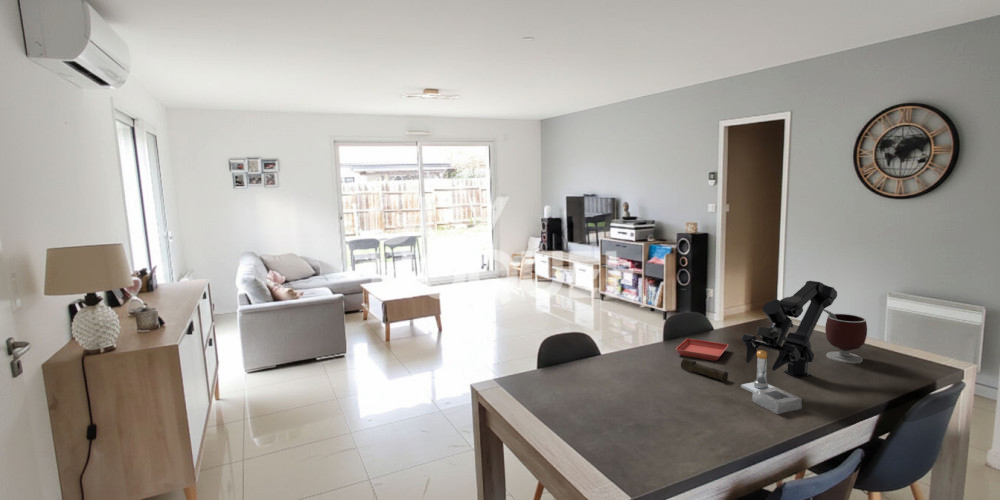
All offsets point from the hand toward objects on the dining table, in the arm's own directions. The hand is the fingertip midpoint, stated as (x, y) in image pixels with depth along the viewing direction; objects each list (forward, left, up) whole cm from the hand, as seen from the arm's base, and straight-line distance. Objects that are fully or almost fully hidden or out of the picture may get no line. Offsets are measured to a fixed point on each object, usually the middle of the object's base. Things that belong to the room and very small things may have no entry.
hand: (759, 366), depth 173 cm
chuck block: (+4, +11, -9) cm, 14 cm away
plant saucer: (-9, -39, -10) cm, 42 cm away
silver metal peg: (-1, 0, -8) cm, 8 cm away
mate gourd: (-56, -12, -9) cm, 58 cm away
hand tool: (+8, -20, -10) cm, 23 cm away
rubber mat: (-1, 0, -9) cm, 9 cm away
